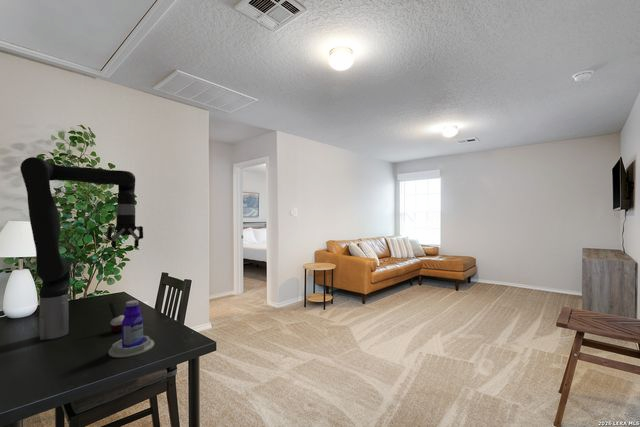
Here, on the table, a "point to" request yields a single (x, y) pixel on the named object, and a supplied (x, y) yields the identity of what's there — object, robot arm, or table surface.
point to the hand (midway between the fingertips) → (125, 248)
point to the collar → (121, 352)
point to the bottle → (132, 325)
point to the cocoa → (116, 320)
